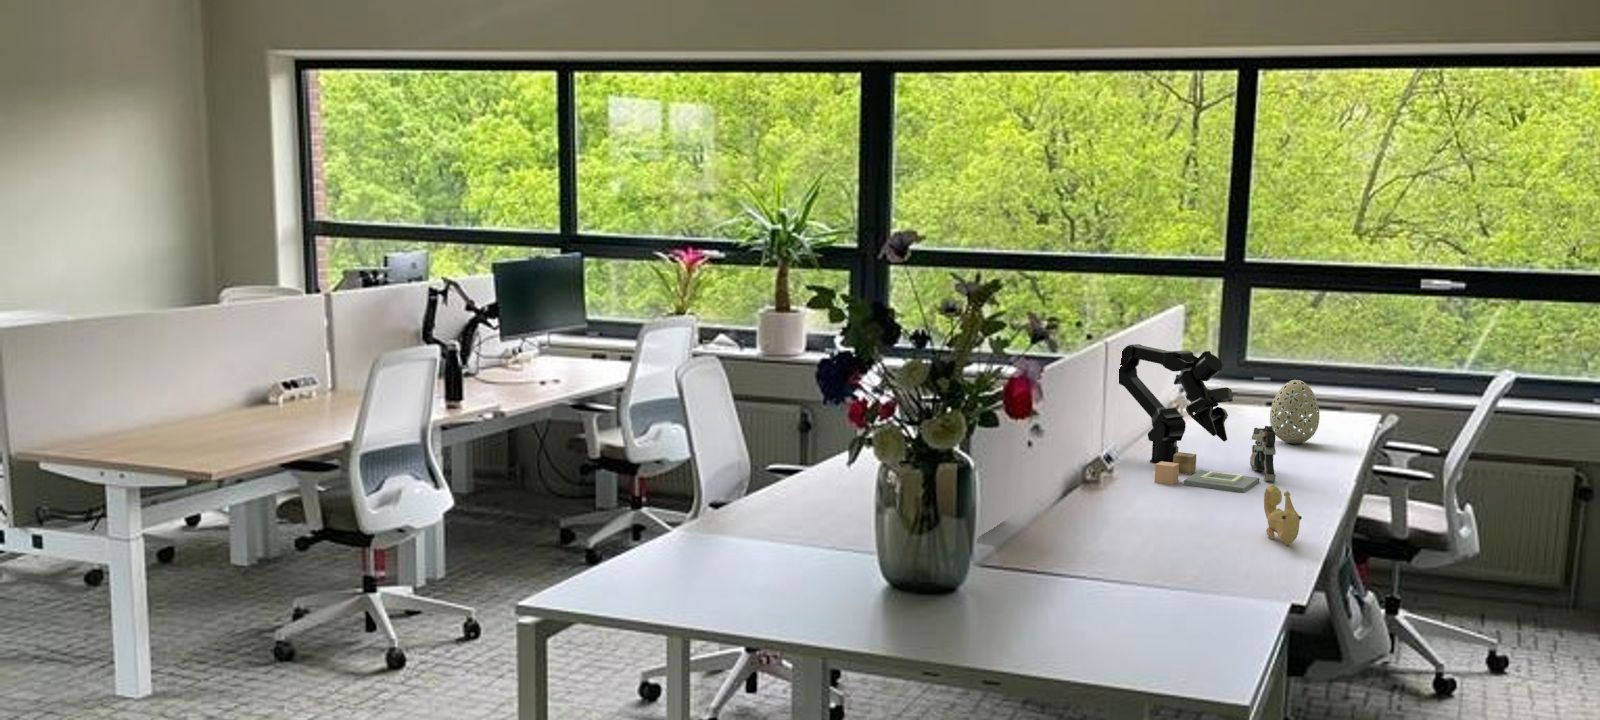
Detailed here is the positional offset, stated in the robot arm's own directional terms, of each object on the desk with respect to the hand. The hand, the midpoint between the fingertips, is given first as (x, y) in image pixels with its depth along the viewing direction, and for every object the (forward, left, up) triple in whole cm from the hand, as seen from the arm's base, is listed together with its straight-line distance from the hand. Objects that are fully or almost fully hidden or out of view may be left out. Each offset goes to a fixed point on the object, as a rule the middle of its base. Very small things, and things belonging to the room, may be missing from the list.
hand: (1220, 438), depth 397 cm
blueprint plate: (+4, -10, -11) cm, 15 cm away
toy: (+32, -63, -11) cm, 71 cm away
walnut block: (-9, -1, -11) cm, 14 cm away
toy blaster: (+10, +9, -11) cm, 17 cm away
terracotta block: (-9, -17, -11) cm, 22 cm away
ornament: (+6, +63, -11) cm, 64 cm away
